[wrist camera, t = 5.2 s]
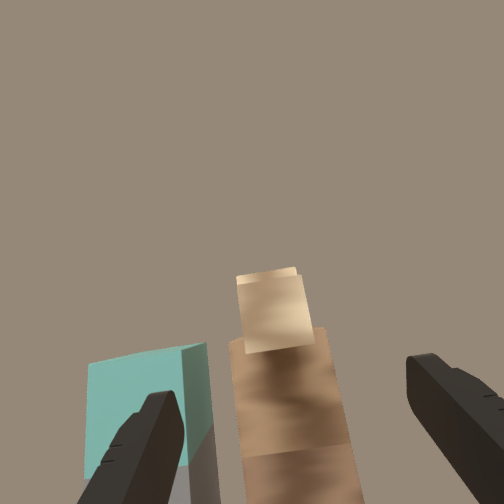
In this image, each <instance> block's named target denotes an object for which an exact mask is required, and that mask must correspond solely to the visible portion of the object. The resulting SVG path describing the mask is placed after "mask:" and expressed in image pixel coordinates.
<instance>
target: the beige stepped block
mask: <svg viewBox="0 0 504 504" xmlns="http://www.w3.org/2000/svg"><path fill="white" fill-rule="evenodd" d="M236 278H237V291H238V299H239V306H240V314H241V322H242V329H243V337H244V345H245V352H246V354H250V353H256V352H263V351H270V350H276V349H283V348H289V347H296V346H303V345H309V344H316V343H315V339H314V334H313V329H312V325H311V320H310V315H309V310H308V305H307V300H306V296H305V291H304V286H303V282H302V276H301V275H297V273H296V268H295V267H290V268H284V269H278V270H272V271H266V272H260V273H254V274H247V275H241V276H236Z"/></svg>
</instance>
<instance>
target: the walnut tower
mask: <svg viewBox="0 0 504 504" xmlns="http://www.w3.org/2000/svg"><path fill="white" fill-rule="evenodd" d="M312 329H313V334H314V339H315V343H316V344H309V345H303V346H296V347H289V348H283V349H276V350H270V351H263V352H256V353H250V354H246V352H245V345H244V337H240V338H238V339H235V340H233V341H231V342H229V351H230V359H231V369H232V377H233V386H234V394H235V404H236V412H237V421H238V430H239V439H240V447H241V456H242V465H243V474H244V482H245V490H246V500H247V504H365V503H364V499H363V494H362V490H361V485H360V481H359V477H358V472H357V468H356V463H355V459H354V455H353V450H352V445H351V441H350V436H349V432H348V428H347V423H346V418H345V414H344V409H343V405H342V401H341V397H340V391H339V387H338V383H337V378H336V373H335V369H334V365H333V360H332V356H331V352H330V347H329V342H328V338H327V333H326V329H325V328H321V327H312Z"/></svg>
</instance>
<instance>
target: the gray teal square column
mask: <svg viewBox="0 0 504 504" xmlns="http://www.w3.org/2000/svg"><path fill="white" fill-rule="evenodd" d="M168 390H172V391H174V393H175V396H176V399H177V403H178V406H179V409H180V413H181V416H182V420H183V423H184V429H185V438H184V445H183V449H182V453H181V457H180V461H179V464H178V468H177V472H176V476H175V479H174V483H173V487H172V491H171V494H170V498H169V502H168V504H221V501H220V491H219V479H218V468H217V457H216V445H215V434H214V424H213V413H212V401H211V391H210V380H209V368H208V357H207V346H206V342H205V343H198V344H192V345H186V346H178V347H172V348H165V349H159V350H153V351H146V352H140V353H135V354H130V355H126V356H122V357H118V358H113V359H109V360H105V361H101V362H96V363H92V364H89V365H88V389H87V417H86V443H85V444H86V445H85V469H84V470H85V472H84V490H85V488H86V487H87V485H88V483H89V481H90V479H91V478H92V476H93V474H94V472H95V470H96V469H97V467H98V466H100V461H101V460H102V458H103V456H104V454H105V453H106V451H107V450H108V449H109V445H110V444H111V442H112V440H113V438H114V436H115V435H116V433H117V431H118V429H119V428H120V427H121V426H122V425H123V423H124V422H125V421H126V420H127V419H128V418H129V417H130V416H131V415H132V414H133V413H136V412H139V411H140V409H141V407H142V405H143V403H144V401H145V399H146V397H147V396H148V395H149V394H150V393H155V392H161V391H168Z"/></svg>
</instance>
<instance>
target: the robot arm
mask: <svg viewBox="0 0 504 504" xmlns="http://www.w3.org/2000/svg"><path fill="white" fill-rule="evenodd" d="M406 378H407V398H408V401H409V404H410V407H411V409H412V411H413V413H414V414H415V416H416V417H417V418H418V420H419V421H420V423H421V424H422V425H423V427H424V428H425V430H426V431H427V432H428V434H429V435H430V436H431V438H432V439H433V440H434V442H435V443H436V445H437V446H438V447H439V449H440V450H441V452H442V453H443V454H444V456H445V457H446V458H447V459H448V461H449V462H450V464H451V465H452V467H453V468H454V469H455V471H456V472H457V473H458V475H459V476H460V477H461V479H462V480H463V482H464V483H465V484H466V486H467V487H468V488H469V490H470V491H471V492H472V494H473V495H474V497H475V498H476V500H477V501H478V502H479V503H480V504H504V399H503V398H501V397H498V395H497V394H496V393H495V392H494V391H493V390H492V389H491V388H489V387H488V386H487V385H486V384H484V383H483V382H482V381H481V380H480V379H478V378H476V377H474V376H472V375H470V374H468V373H467V372H465V371H463V370H461V369H459V368H451V367H450V366H448V365H447V364H446V363H445V362H444V361H443V360H442V359H440V358H439V357H438V356H437V355H435V354H433V353H429V354H422V355H415V356H409V357H407V360H406ZM184 438H185V429H184V423H183V420H182V416H181V413H180V409H179V406H178V403H177V399H176V396H175V393H174V391H172V390H168V391H161V392H155V393H150V394H149V395H148V396H147V397H146V399H145V401H144V403H143V405H142V407H141V409H140V411H139V412H136V413H133V414H132V415H131V416H130V417H129V418H128V419H127V420H126V421H125V422H124V423H123V425H122V426H121V427H120V428H119V429H118V431H117V433H116V435H115V436H114V438H113V440H112V442H111V444H110V445H109V449H108V450H107V451H106V453H105V454H104V456H103V458H102V460H101V461H100V466H98V467H97V469H96V470H95V472H94V474H93V476H92V478H91V479H90V481H89V483H88V485H87V487H86V488H85V490H84V492H83V494H82V496H81V497H80V499H79V501H78V503H77V504H168V502H169V498H170V494H171V491H172V487H173V483H174V479H175V476H176V472H177V468H178V464H179V461H180V457H181V453H182V449H183V445H184Z"/></svg>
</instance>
